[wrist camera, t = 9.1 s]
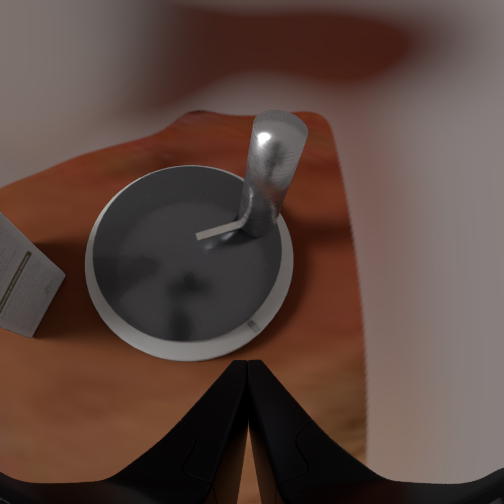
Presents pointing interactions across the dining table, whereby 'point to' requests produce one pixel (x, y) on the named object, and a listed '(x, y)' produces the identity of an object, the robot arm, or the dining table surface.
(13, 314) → the syrup box
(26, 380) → the dining table surface
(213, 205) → the dial
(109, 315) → the base
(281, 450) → the robot arm
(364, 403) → the dining table surface
